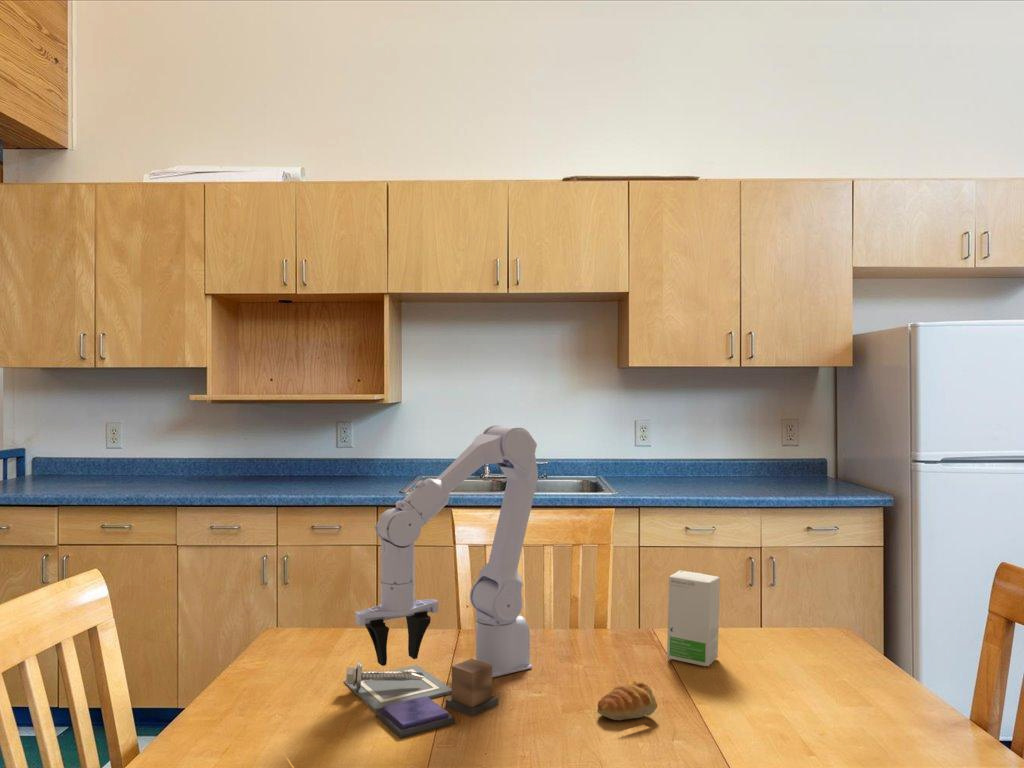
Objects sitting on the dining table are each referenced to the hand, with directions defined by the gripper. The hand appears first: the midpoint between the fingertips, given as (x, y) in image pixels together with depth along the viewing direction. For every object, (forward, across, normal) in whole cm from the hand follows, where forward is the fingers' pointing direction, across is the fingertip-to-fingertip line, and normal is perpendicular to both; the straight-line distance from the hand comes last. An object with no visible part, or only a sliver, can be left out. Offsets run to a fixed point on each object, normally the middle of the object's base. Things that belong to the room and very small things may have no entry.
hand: (397, 660), depth 130 cm
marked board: (+5, 0, 0) cm, 5 cm away
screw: (+5, +2, 0) cm, 5 cm away
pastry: (+6, -24, +27) cm, 36 cm away
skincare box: (+5, -53, +17) cm, 56 cm away
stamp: (+5, -7, +13) cm, 16 cm away
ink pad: (+5, +3, +13) cm, 14 cm away
